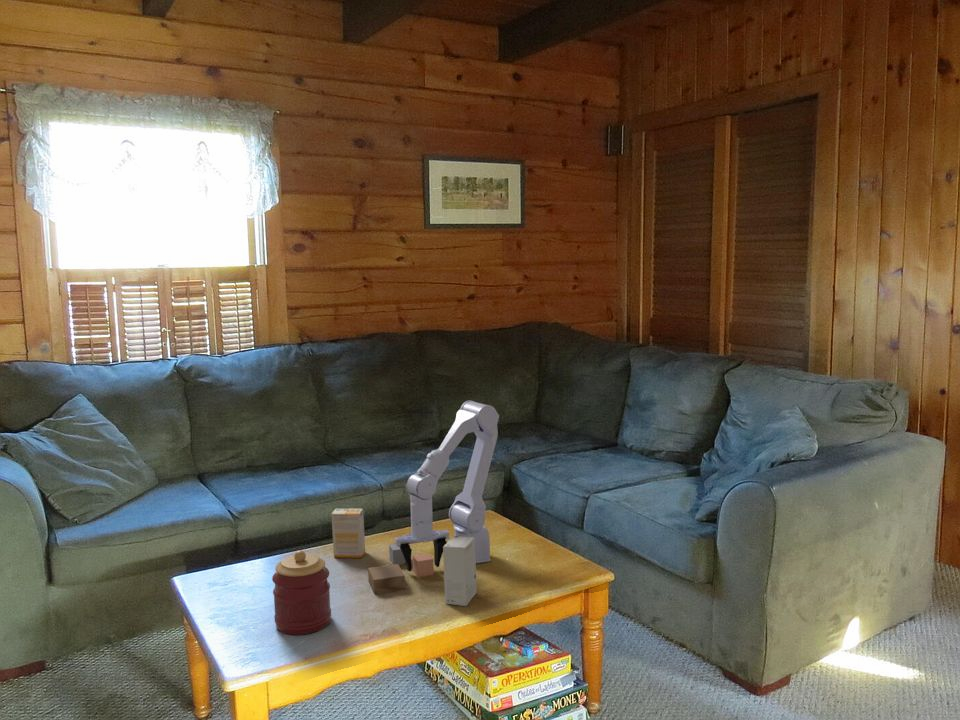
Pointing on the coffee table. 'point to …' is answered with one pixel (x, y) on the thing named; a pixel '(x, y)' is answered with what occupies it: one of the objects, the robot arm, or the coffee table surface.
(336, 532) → the supplement box
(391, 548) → the slate grey cube
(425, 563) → the terracotta cube
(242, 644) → the coffee table surface
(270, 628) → the coffee table surface
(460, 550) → the skincare box
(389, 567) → the walnut block
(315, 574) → the canister
